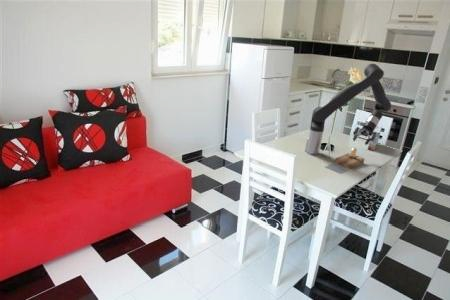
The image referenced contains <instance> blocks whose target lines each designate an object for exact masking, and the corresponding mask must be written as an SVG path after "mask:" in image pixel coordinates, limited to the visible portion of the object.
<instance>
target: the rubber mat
mask: <svg viewBox="0 0 450 300" xmlns="http://www.w3.org/2000/svg"><path fill="white" fill-rule="evenodd" d="M324 168H325V169H326V170H327V169H328V170H330V171H332V172H335V173H337V174H340V175H342V174H344V173H346V172H348V171H349V169H348V168H346V167H343V166H341V165H340V166H339V165H338V164H337V165H336V164H334V163H331V164H328V165H326V166H324Z"/></svg>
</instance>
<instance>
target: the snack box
mask: <svg viewBox="0 0 450 300" xmlns="http://www.w3.org/2000/svg"><path fill="white" fill-rule="evenodd" d="M382 128H383V126H381V125H377V126H376V128H375V129H374V131H373V132H376V133H377V135H376V137H375V139H374V141H370V142H369V143H368V146H367V150H368V151H372V152H375V150H376V148H377V146H378V143H379V140H380V139H379V138H380V135H381V133H382ZM372 136H373V134H371V135H370V138H372Z"/></svg>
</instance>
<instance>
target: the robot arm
mask: <svg viewBox="0 0 450 300" xmlns="http://www.w3.org/2000/svg"><path fill="white" fill-rule="evenodd" d="M363 73H364V76H365V78H364V79H361V81H359V82H356V83H352V84H349V85H346V86H345V87H343V88H342V89H340V90H339V91H338V92H337V93H336V94H335V95H334V96H333V97H332V98H331V100H329V102H327V103H325V105H323V106H317V107H315V108H314V109H313V111H312V115H311V120H310V121H311V122H310V126H309V127H310V128H309V133H308V138H306V143H305V147H304V148H305V149H304V152H305V153H307V154H308V155H309V154H310V155H315V156H316V155H319V154H320V150H321V144H322V142H323V141H322V140H323V134H324V130H325V122H326V120H327V119H328V118H329V117H330V116H331V115H332V114H333V113H335V112H336V111H338V110H339V109H341V108H342V107H344V105H346V104H348V103H349V102H350V101H351V100H353V99H354V98H356V97H357V96H358V95H359V94H361V93H362V92H364V91H365V90H366V89H368V88H369V87H370V88H371V91H372V94H373V97H374V100H375V102H374V105H373V109H372V112H371V114H370V115H369V116H368V118H367V119H366V121H365V122H364V124H363V125H362V128H360V127H359V126H357V127H356V128H355V130H354V131H353V133H352V134H353V138H352V141H353V142H355V141H356V140H357V138H358V137H361V136H362V137H366V138H367V139H366V141H365V142H364V145H366V146H367V145H369V142H370V141H374V139H375V137H376V135H377V133H376V132H373V131H374V129H375V128H376V126H379V125H378V124H379V122H380V121H381V119H382V118H383V112H388V111H390V110H391V108H392V104H391V103H392V102H391V101H390V100H389V99H388V97H387V95H386V91H385V89H384V86H383V84H382V82H381V81H380V80H382V78H383V77H384V76H385V71H384V70H383V69H382V68H381V67H379V65H377V64H376V63H369V64H367V65H366V66H365V68H364V72H363ZM372 134H373V136H372V138H371V135H372Z"/></svg>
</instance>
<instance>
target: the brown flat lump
mask: <svg viewBox="0 0 450 300" xmlns="http://www.w3.org/2000/svg"><path fill="white" fill-rule="evenodd" d="M350 155H351V152H348V153H345V154H343V155H341V156H338V157H336V158H335V159H334V163H335V164H337V165H338V166H339V165H340V166H341V167H343V168H346V169H350V170H352V169H354V168H357V167H358V166H362V165H363V164H364V162H365V158H364V157H360V156H358V155H355V159H351V158H350Z"/></svg>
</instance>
